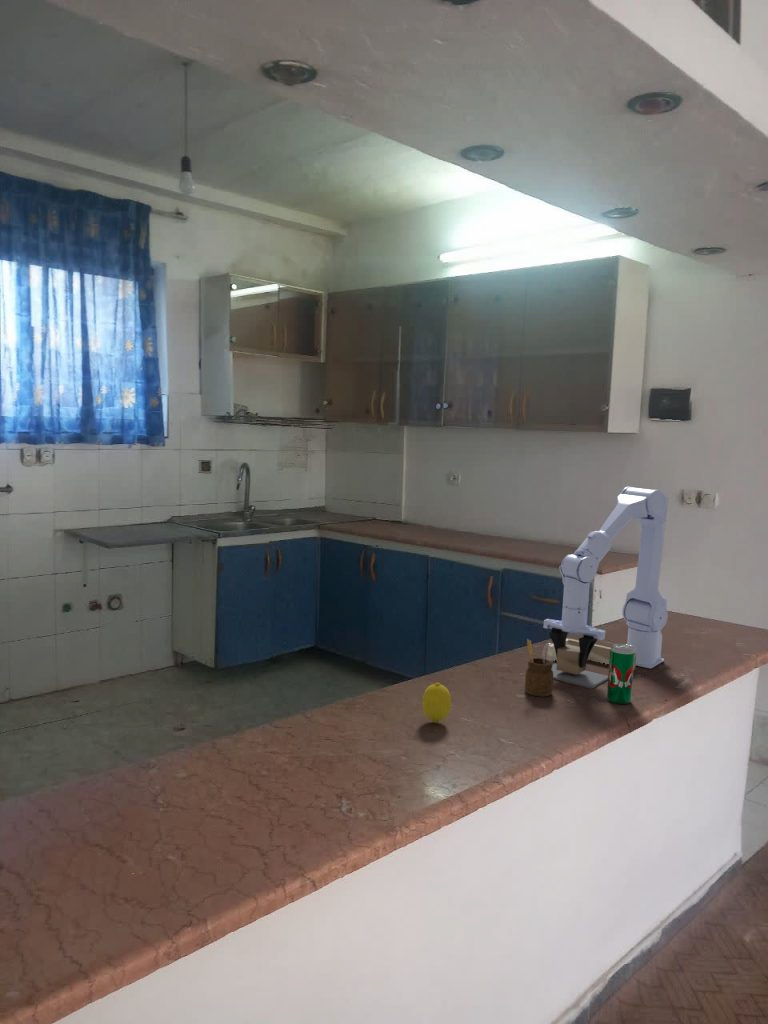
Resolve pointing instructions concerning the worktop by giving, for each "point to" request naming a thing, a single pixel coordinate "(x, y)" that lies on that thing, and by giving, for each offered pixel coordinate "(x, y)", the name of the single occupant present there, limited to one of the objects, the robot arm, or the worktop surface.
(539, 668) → the utensil holder
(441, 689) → the lemon
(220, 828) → the worktop surface
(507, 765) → the worktop surface
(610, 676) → the soda can
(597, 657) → the beige angled piece
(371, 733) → the worktop surface
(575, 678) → the rubber mat
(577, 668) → the wooden cube
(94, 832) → the worktop surface
